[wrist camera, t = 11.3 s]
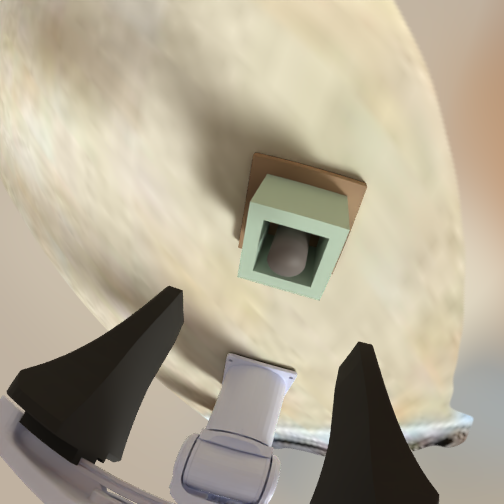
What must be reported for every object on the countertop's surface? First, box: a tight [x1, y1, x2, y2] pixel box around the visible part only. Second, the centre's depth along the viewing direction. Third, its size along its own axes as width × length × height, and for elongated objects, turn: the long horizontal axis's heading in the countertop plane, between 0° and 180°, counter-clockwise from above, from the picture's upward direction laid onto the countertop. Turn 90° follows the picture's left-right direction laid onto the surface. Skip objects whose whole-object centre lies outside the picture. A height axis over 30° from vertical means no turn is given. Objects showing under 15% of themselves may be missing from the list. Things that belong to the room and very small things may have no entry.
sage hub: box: [237, 174, 350, 301], centre depth 17 cm, size 5×5×4 cm
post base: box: [238, 153, 367, 277], centre depth 17 cm, size 7×7×5 cm
